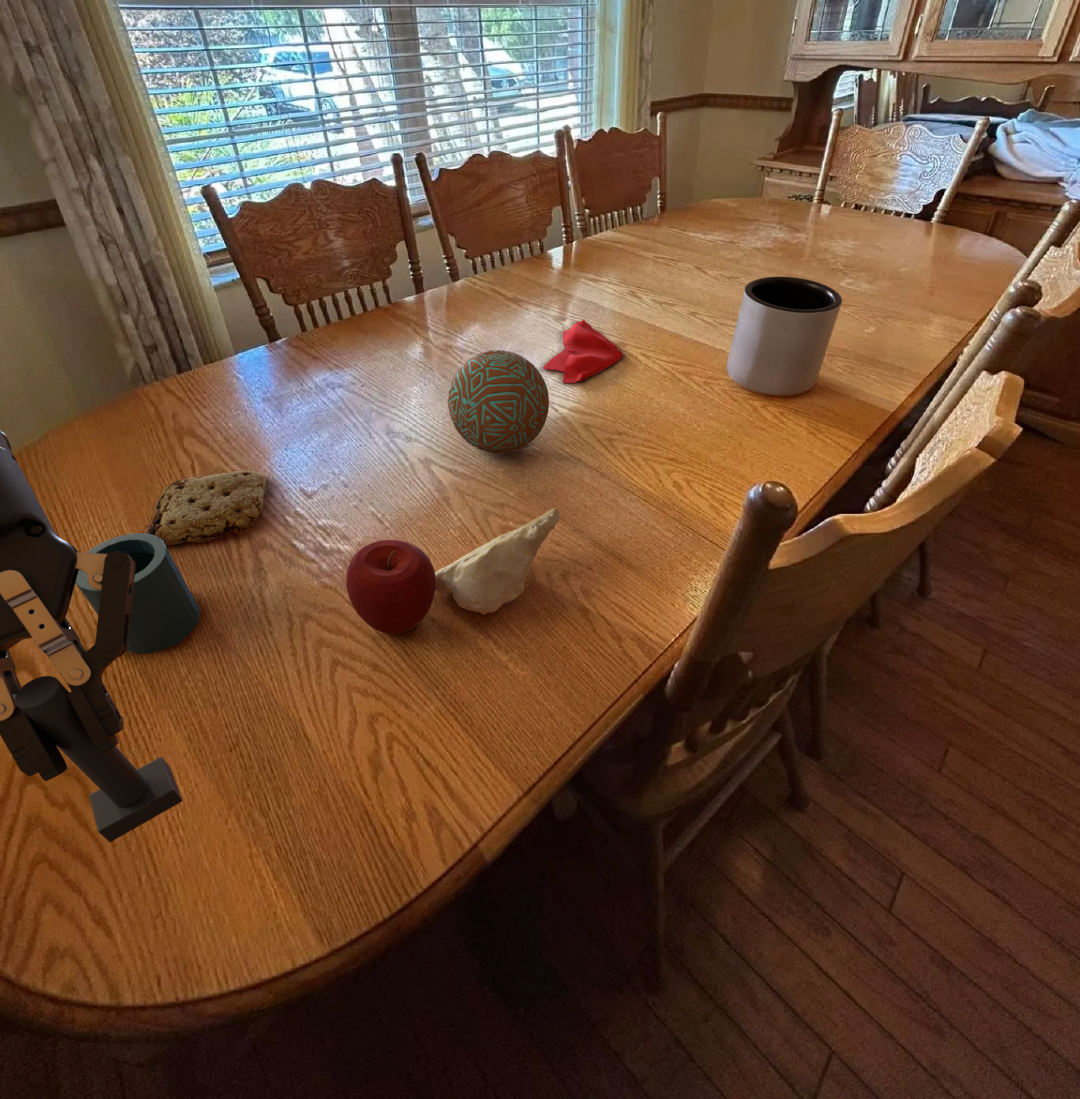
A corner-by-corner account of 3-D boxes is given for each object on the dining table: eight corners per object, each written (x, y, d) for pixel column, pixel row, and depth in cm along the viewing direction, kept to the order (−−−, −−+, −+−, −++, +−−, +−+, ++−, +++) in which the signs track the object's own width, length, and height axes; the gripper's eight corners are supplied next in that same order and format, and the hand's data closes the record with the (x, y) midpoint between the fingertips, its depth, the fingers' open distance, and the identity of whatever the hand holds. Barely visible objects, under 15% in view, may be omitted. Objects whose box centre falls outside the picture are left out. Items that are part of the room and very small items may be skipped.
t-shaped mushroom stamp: (109, 843, 40) (-11, 735, 31) (99, 806, 41) (-17, 693, 32) (183, 801, 41) (89, 689, 33) (170, 767, 43) (78, 652, 34)
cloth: (608, 389, 112) (609, 378, 111) (534, 378, 115) (534, 367, 113) (633, 330, 130) (634, 319, 129) (569, 322, 133) (569, 311, 132)
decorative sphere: (566, 438, 100) (570, 349, 90) (510, 485, 91) (507, 392, 81) (491, 410, 107) (487, 324, 96) (432, 452, 97) (420, 361, 87)
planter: (807, 361, 121) (833, 278, 110) (822, 403, 109) (853, 315, 98) (722, 355, 122) (739, 272, 112) (727, 396, 111) (748, 308, 100)
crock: (127, 666, 67) (81, 604, 61) (109, 618, 72) (65, 555, 66) (210, 628, 71) (175, 565, 65) (187, 585, 76) (153, 522, 69)
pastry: (303, 500, 88) (297, 483, 86) (194, 572, 78) (185, 555, 76) (224, 460, 95) (218, 443, 93) (114, 522, 85) (104, 504, 83)
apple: (406, 664, 68) (392, 601, 61) (339, 630, 71) (318, 567, 65) (457, 606, 74) (449, 544, 67) (392, 578, 77) (379, 515, 71)
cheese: (437, 649, 72) (539, 606, 64) (403, 595, 71) (502, 544, 63) (497, 592, 85) (587, 551, 77) (468, 546, 84) (557, 499, 76)
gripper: (-317, 508, 26) (-108, 864, 28) (57, 406, 33) (213, 700, 34) (-207, 535, 33) (-43, 821, 34) (86, 446, 39) (215, 691, 41)
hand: (83, 759), depth 34 cm, fingers closed on t-shaped mushroom stamp, 2 cm apart
